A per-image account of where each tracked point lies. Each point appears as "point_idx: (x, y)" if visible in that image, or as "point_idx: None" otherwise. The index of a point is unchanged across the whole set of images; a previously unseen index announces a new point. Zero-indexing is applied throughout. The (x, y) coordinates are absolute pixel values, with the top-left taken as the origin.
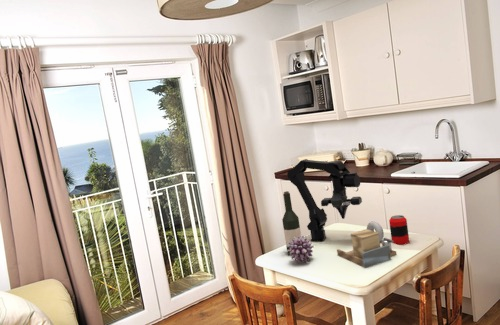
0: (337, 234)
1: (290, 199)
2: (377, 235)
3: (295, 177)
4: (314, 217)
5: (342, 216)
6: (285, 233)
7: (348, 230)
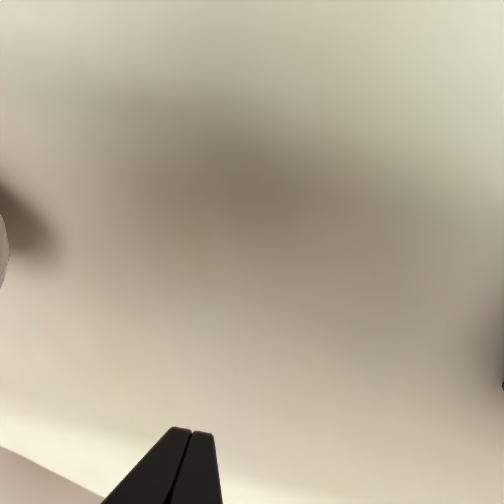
0: (383, 437)
1: None
2: None
3: None
4: None
5: (182, 480)
6: None
7: (291, 496)
